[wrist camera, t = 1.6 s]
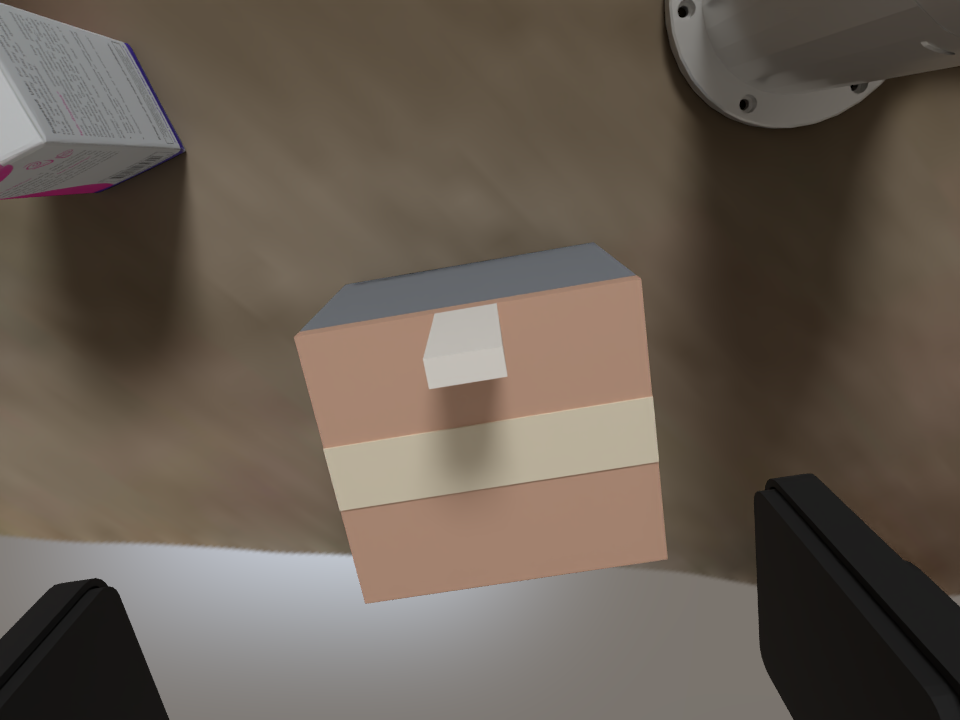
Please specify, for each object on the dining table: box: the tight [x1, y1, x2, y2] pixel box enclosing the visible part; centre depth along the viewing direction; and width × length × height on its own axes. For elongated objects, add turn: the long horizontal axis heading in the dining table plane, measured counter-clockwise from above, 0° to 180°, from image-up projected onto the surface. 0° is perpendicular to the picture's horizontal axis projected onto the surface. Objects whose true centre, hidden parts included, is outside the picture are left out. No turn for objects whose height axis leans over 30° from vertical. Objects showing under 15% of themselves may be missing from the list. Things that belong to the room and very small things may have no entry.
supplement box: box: [0, 3, 185, 200], centre depth 28 cm, size 6×6×11 cm
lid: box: [294, 275, 668, 604], centre depth 25 cm, size 14×13×7 cm
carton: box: [300, 242, 635, 332], centre depth 33 cm, size 14×13×10 cm
